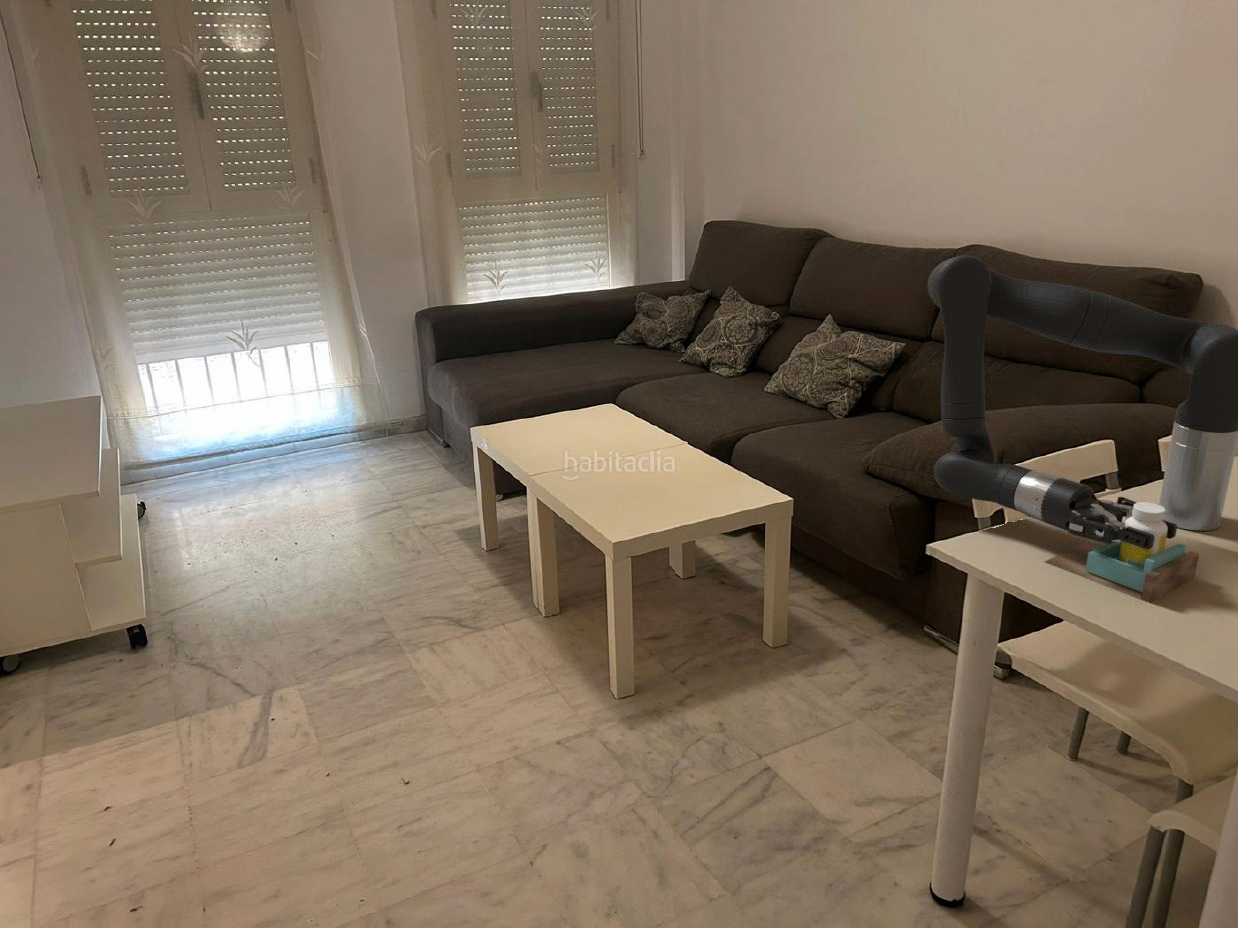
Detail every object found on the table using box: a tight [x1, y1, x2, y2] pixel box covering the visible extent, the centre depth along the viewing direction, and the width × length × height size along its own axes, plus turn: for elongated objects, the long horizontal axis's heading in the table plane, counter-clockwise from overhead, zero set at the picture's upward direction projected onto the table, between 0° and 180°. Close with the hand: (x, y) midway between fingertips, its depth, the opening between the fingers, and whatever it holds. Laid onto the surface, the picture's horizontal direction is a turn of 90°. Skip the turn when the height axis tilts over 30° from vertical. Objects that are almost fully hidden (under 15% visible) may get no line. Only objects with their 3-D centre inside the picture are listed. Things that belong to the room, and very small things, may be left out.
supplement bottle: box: [1119, 501, 1168, 569], centre depth 129 cm, size 5×5×10 cm
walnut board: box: [1043, 541, 1200, 604], centre depth 133 cm, size 12×16×6 cm
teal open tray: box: [1086, 540, 1187, 592], centre depth 131 cm, size 9×9×5 cm
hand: (1163, 537), depth 127 cm, fingers closed on supplement bottle, 5 cm apart
